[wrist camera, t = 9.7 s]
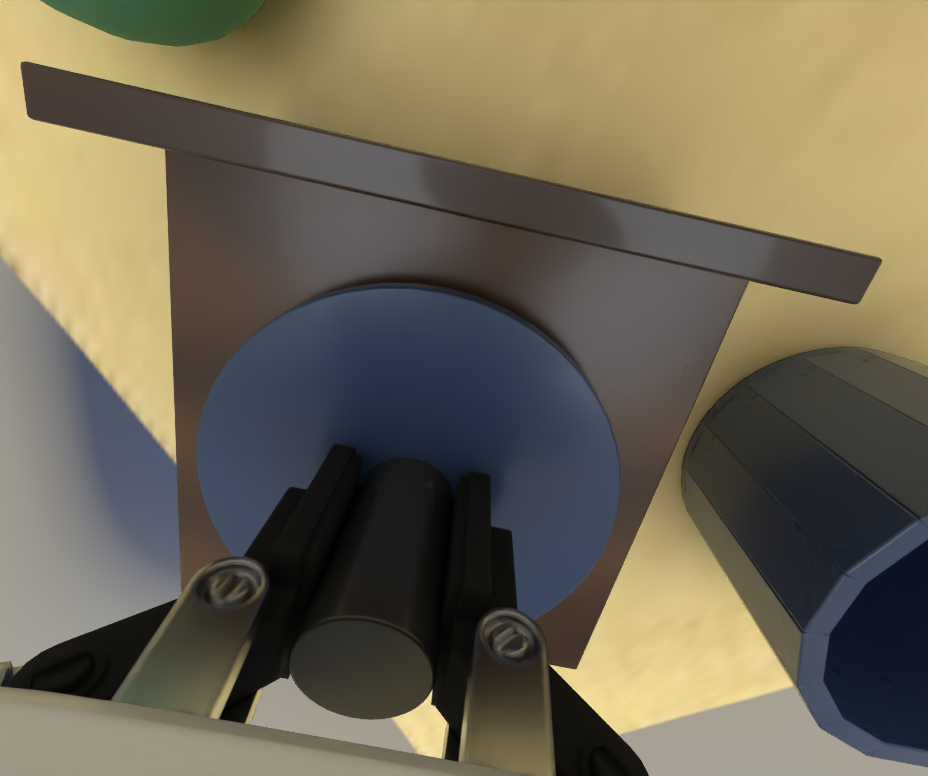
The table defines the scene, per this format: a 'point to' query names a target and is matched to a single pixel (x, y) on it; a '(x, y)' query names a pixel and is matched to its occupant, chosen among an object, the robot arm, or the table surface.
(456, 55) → the table surface
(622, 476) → the shelf
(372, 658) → the lid
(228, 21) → the alien toy
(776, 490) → the pot
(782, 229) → the table surface
